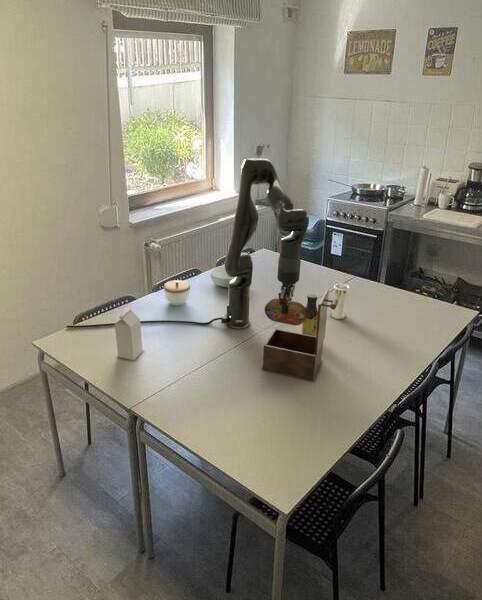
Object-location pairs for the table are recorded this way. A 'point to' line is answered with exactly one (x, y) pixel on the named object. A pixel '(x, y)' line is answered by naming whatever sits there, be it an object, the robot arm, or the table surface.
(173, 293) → the lidded bowl
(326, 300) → the lid
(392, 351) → the table surface
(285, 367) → the chest
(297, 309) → the tin
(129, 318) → the milk carton
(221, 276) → the cereal bowl
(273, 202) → the robot arm
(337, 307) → the milkshake glass
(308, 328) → the sauce bottle
